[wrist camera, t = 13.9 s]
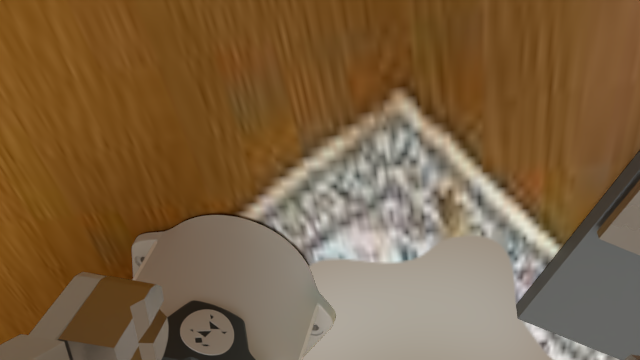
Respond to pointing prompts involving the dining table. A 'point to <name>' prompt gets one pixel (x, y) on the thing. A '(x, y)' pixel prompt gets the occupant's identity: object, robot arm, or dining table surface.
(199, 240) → the robot arm
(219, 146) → the dining table surface
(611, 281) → the mat
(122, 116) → the dining table surface
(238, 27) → the dining table surface
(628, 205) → the frame
